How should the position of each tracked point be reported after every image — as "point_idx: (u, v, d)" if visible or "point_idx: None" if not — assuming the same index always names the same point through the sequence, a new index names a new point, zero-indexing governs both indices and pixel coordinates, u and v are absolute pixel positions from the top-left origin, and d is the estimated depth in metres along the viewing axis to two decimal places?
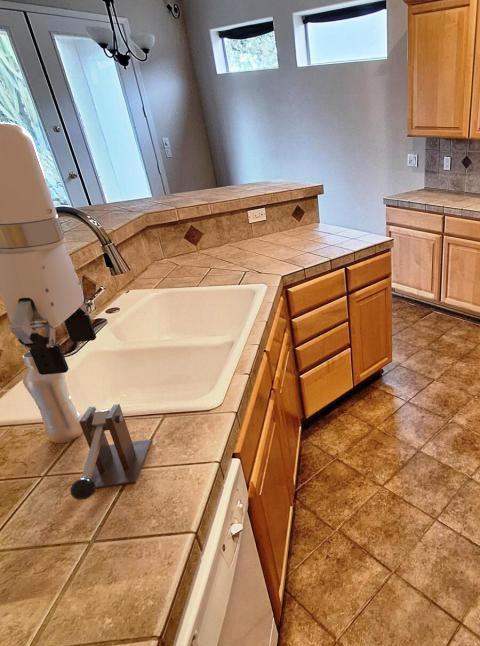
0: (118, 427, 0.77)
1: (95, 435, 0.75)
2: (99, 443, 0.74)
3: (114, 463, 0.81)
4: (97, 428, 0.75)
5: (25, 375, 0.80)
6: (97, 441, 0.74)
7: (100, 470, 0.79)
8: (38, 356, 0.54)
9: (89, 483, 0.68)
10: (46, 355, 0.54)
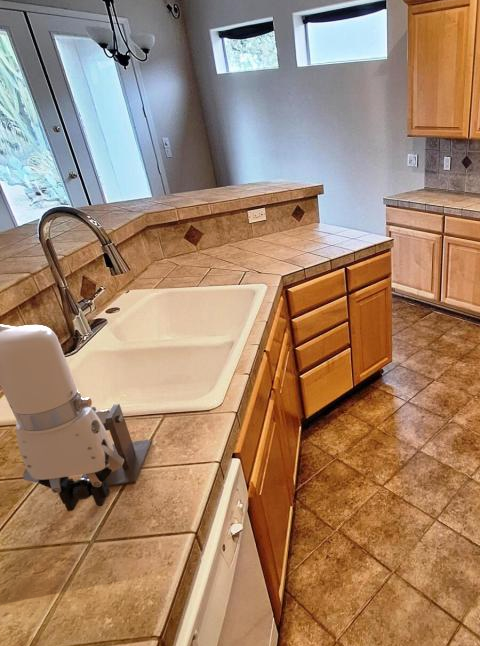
0: (118, 427, 0.77)
1: None
2: None
3: None
4: None
5: None
6: None
7: None
8: None
9: (89, 483, 0.68)
10: None
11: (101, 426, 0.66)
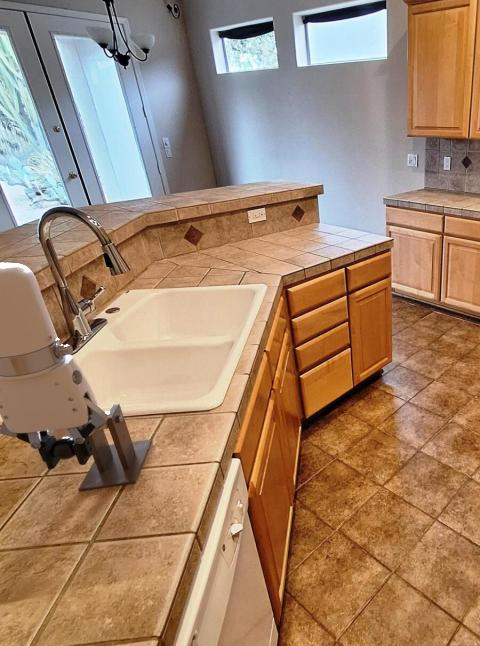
0: (118, 427, 0.77)
1: None
2: (94, 429, 0.73)
3: (114, 463, 0.81)
4: None
5: None
6: None
7: (100, 470, 0.79)
8: None
9: None
10: None
11: (83, 378, 0.62)
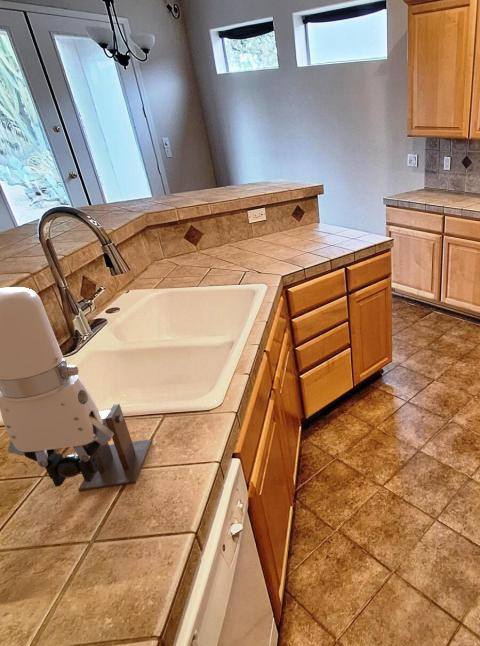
0: (118, 427, 0.77)
1: None
2: (95, 435, 0.73)
3: (114, 463, 0.81)
4: None
5: None
6: None
7: (100, 470, 0.79)
8: None
9: (77, 458, 0.65)
10: None
11: (89, 397, 0.63)
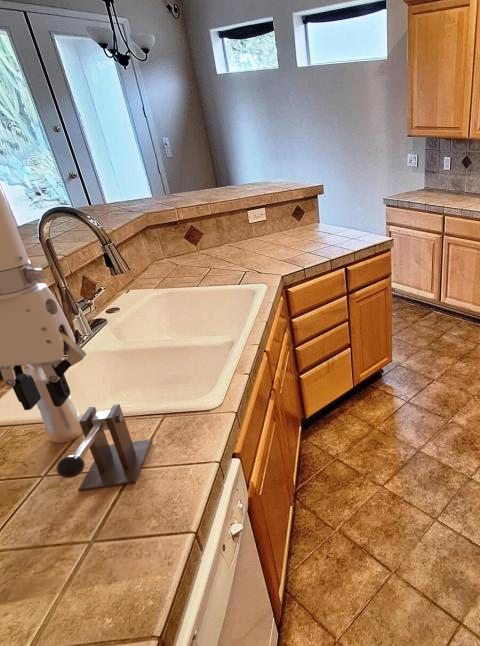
0: (118, 427, 0.77)
1: (93, 428, 0.74)
2: (95, 435, 0.73)
3: (114, 463, 0.81)
4: (96, 424, 0.75)
5: None
6: (93, 432, 0.73)
7: (100, 470, 0.79)
8: None
9: (78, 458, 0.66)
10: None
11: (59, 309, 0.58)
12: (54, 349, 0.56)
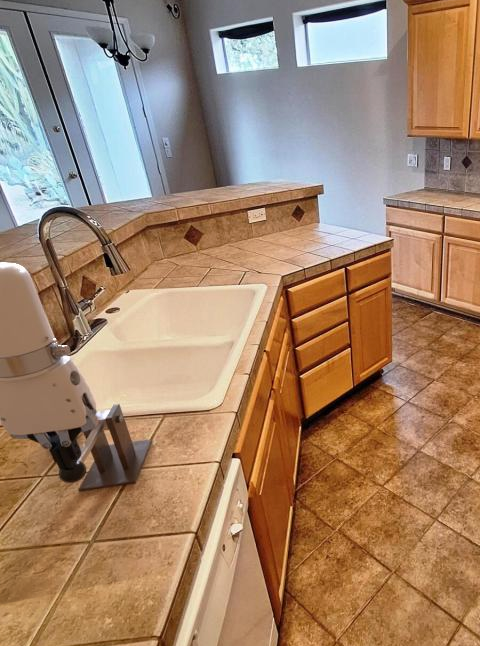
0: (118, 427, 0.77)
1: (93, 430, 0.74)
2: (96, 436, 0.73)
3: (114, 463, 0.81)
4: None
5: None
6: (94, 434, 0.73)
7: (100, 470, 0.79)
8: None
9: (79, 464, 0.66)
10: None
11: (82, 378, 0.61)
12: (77, 417, 0.60)
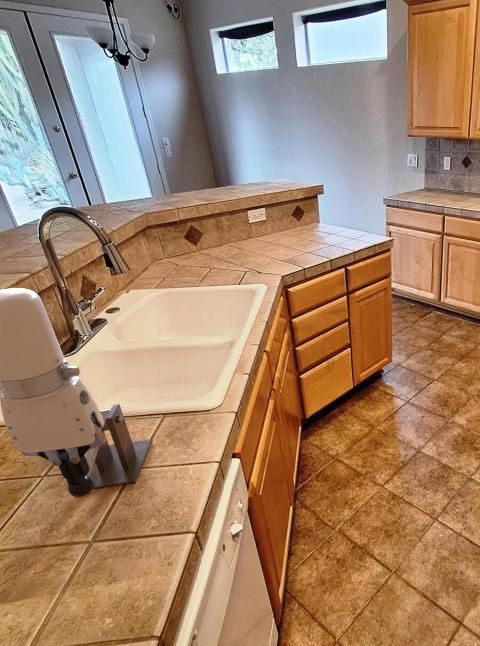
0: (118, 427, 0.77)
1: None
2: None
3: (114, 463, 0.81)
4: None
5: None
6: None
7: (100, 470, 0.79)
8: None
9: (87, 480, 0.68)
10: None
11: (90, 398, 0.63)
12: (86, 435, 0.62)
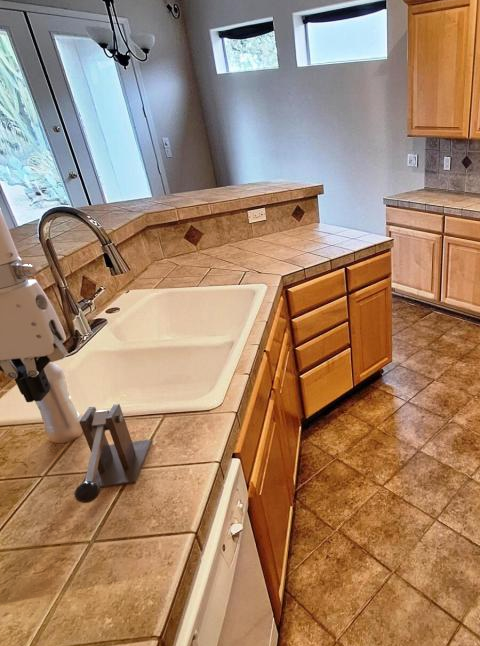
0: (118, 427, 0.77)
1: (96, 436, 0.75)
2: (101, 444, 0.75)
3: (114, 463, 0.81)
4: (97, 429, 0.76)
5: None
6: (98, 443, 0.74)
7: (100, 470, 0.79)
8: None
9: (93, 487, 0.69)
10: None
11: (49, 305, 0.59)
12: (44, 344, 0.58)
